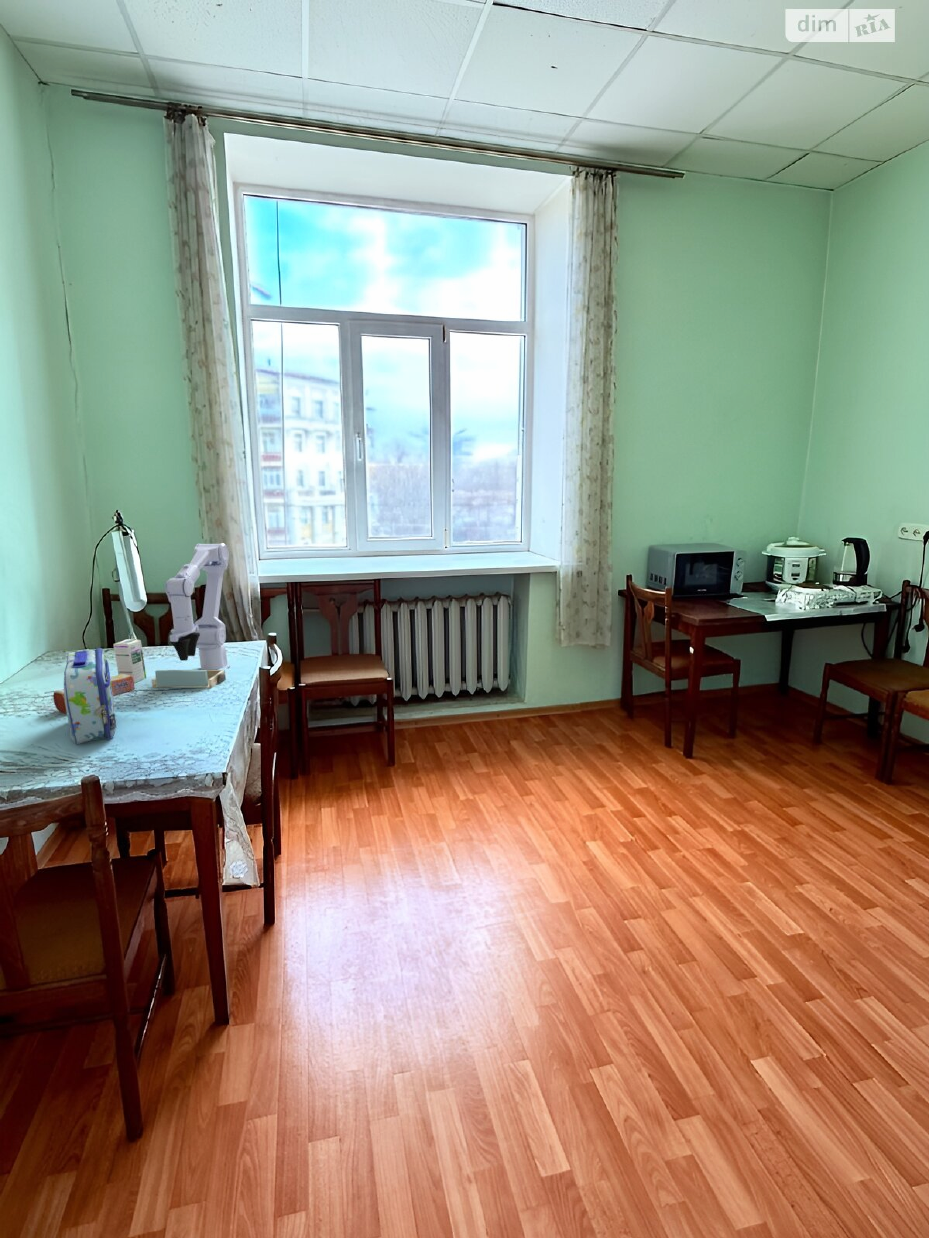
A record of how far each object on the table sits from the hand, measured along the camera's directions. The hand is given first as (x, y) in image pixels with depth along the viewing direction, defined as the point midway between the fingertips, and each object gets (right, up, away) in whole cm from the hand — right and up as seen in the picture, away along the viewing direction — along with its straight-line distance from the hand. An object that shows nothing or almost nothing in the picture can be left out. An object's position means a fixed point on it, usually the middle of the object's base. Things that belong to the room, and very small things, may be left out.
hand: (187, 658), depth 204 cm
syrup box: (-20, -9, +5) cm, 22 cm away
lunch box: (-11, -18, -32) cm, 38 cm away
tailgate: (0, -9, -4) cm, 10 cm away
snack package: (-23, -13, -10) cm, 28 cm away
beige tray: (0, -9, +2) cm, 9 cm away
